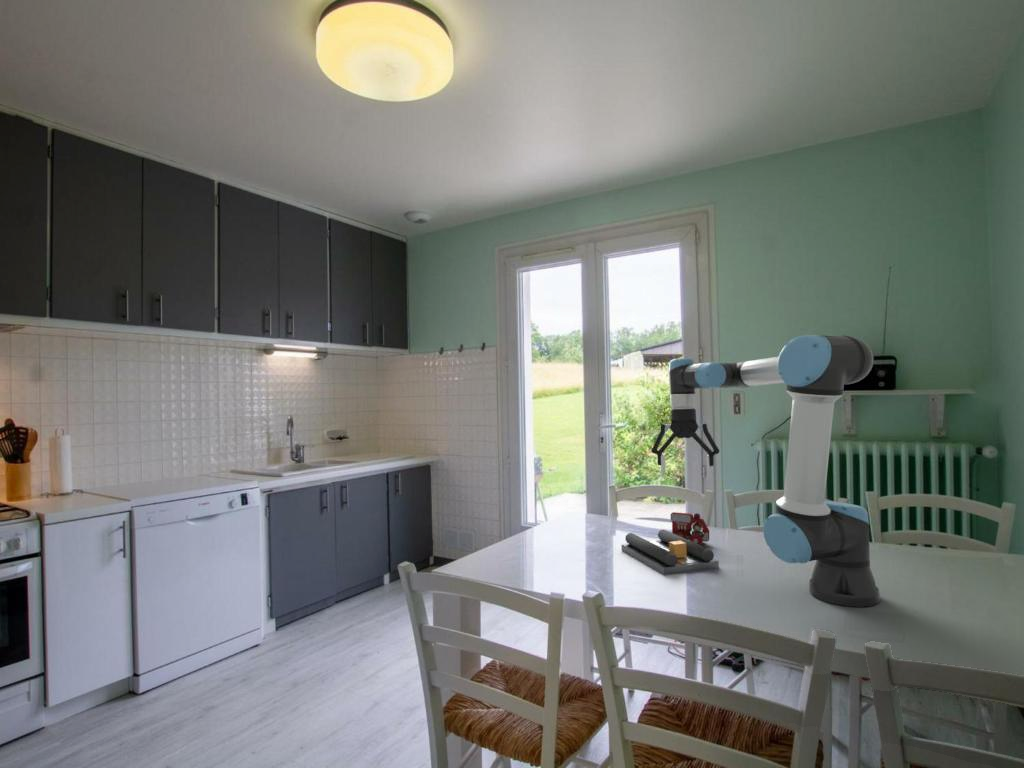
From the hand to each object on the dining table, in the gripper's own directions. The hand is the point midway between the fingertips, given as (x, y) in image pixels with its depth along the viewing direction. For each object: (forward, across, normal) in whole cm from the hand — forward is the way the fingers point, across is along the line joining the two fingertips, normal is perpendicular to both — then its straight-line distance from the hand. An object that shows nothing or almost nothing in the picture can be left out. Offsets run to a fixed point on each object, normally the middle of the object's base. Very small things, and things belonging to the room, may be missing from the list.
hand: (685, 476), depth 174 cm
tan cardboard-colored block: (+23, +2, +8) cm, 24 cm away
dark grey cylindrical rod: (+23, +1, -1) cm, 23 cm away
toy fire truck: (+25, +2, -16) cm, 30 cm away
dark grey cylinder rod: (+23, +11, +7) cm, 26 cm away
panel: (+25, +6, +3) cm, 26 cm away
